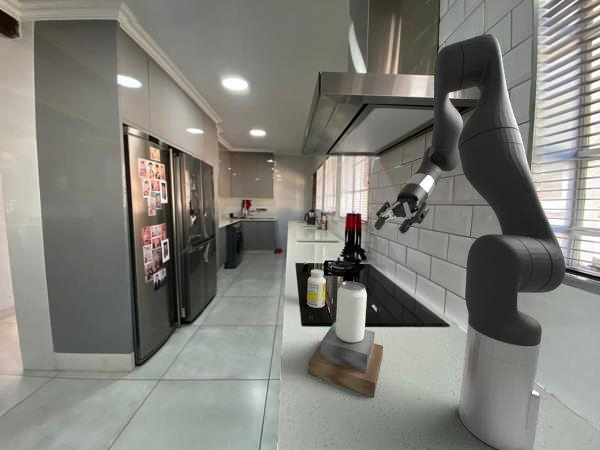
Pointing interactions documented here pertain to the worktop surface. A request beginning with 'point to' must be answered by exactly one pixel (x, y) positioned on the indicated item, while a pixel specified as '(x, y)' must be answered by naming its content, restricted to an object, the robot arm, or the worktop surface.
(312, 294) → the supplement bottle
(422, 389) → the worktop surface
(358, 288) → the can
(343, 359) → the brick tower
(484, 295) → the robot arm
